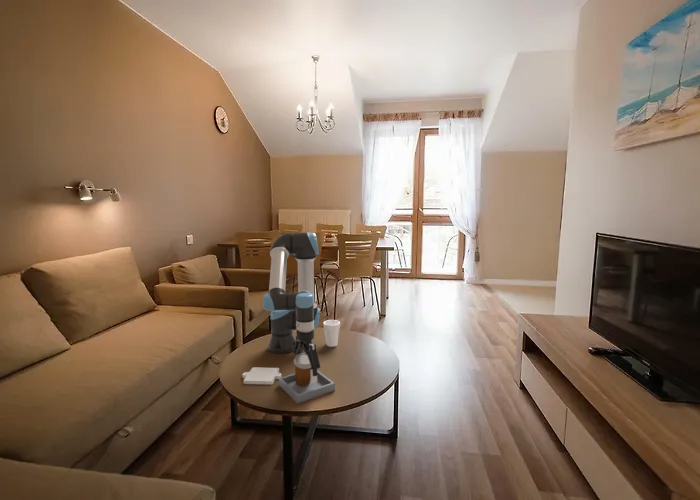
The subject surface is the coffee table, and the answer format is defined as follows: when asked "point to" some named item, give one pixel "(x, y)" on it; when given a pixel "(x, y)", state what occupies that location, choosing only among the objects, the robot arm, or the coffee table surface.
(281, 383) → the slate tray
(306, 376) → the disposable coffee cup
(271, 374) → the mounting plate
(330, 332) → the foam cup
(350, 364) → the coffee table surface
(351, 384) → the coffee table surface
